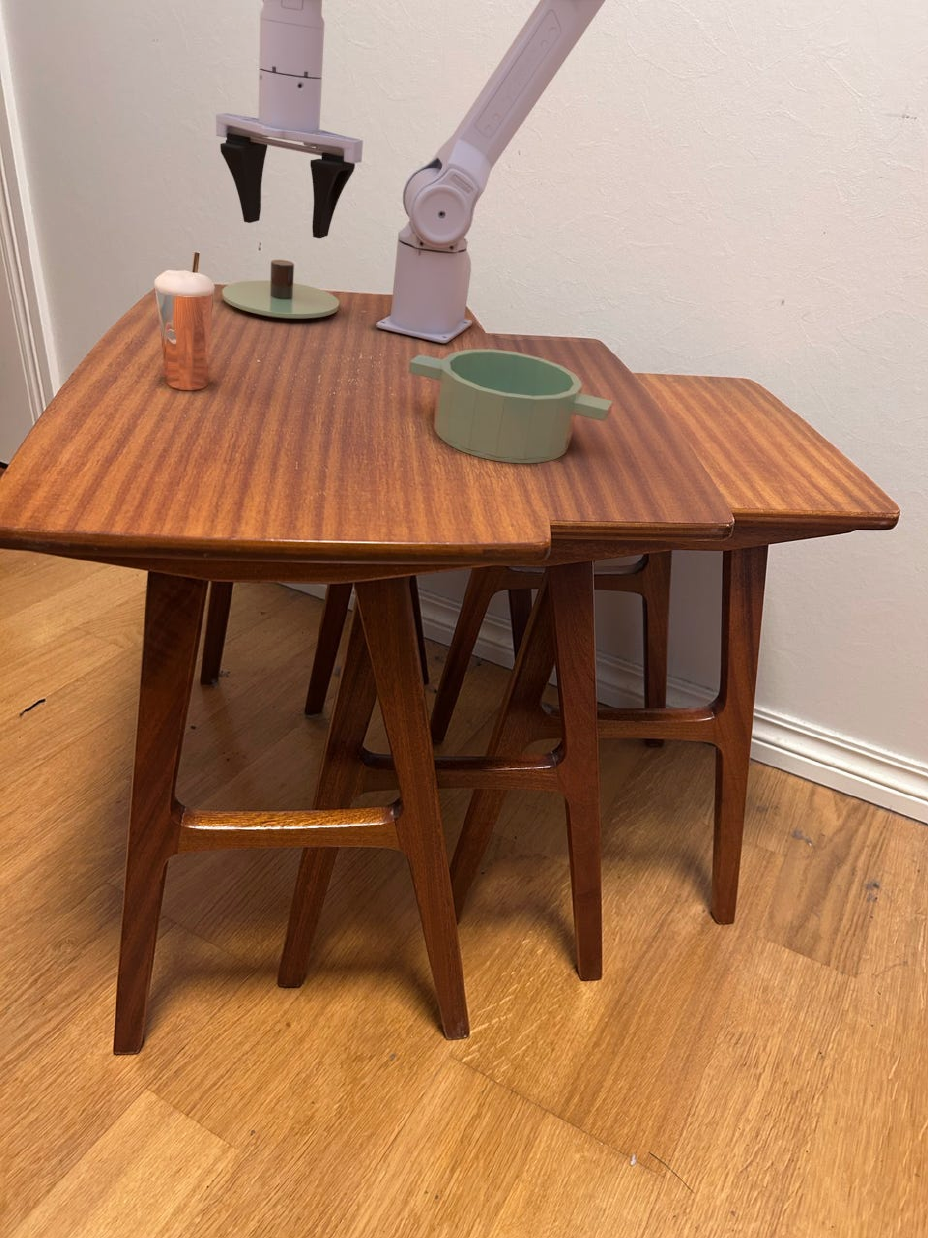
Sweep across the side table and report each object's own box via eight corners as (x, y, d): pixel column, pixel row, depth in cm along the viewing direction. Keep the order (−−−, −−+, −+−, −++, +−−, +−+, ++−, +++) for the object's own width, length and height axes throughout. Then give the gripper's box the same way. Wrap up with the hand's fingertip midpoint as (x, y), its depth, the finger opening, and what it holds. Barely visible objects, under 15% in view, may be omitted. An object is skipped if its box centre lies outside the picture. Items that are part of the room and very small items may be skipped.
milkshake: (225, 376, 80) (225, 256, 74) (204, 397, 75) (202, 270, 70) (173, 367, 80) (169, 246, 74) (149, 387, 75) (143, 260, 70)
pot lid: (258, 283, 106) (258, 241, 103) (356, 307, 103) (359, 264, 101) (199, 305, 96) (198, 259, 93) (307, 332, 93) (309, 285, 91)
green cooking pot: (430, 392, 84) (438, 333, 81) (610, 437, 80) (624, 377, 77) (383, 431, 74) (389, 366, 71) (583, 484, 71) (598, 418, 68)
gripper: (198, 59, 83) (200, 219, 91) (345, 87, 81) (335, 249, 88) (237, 60, 89) (236, 210, 96) (375, 86, 86) (363, 238, 94)
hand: (285, 228), depth 93 cm, fingers open, 7 cm apart
